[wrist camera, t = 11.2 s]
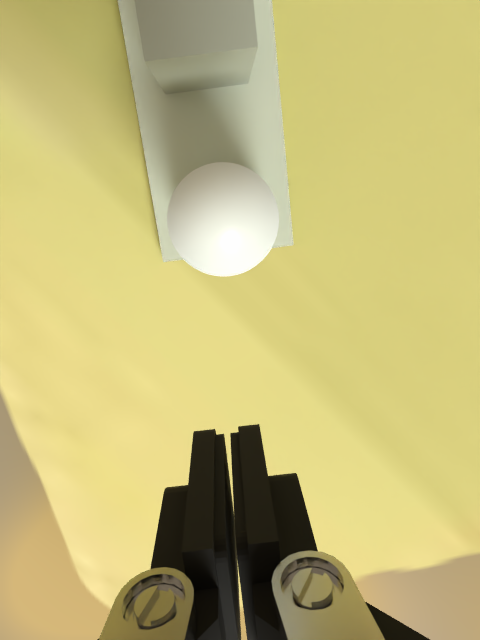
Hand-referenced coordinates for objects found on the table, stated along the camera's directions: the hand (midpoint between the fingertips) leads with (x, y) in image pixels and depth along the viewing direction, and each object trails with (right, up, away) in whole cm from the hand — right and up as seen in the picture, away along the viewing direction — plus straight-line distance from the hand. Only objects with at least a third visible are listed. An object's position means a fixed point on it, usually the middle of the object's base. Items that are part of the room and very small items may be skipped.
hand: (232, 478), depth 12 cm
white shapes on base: (-2, +17, +11) cm, 21 cm away
